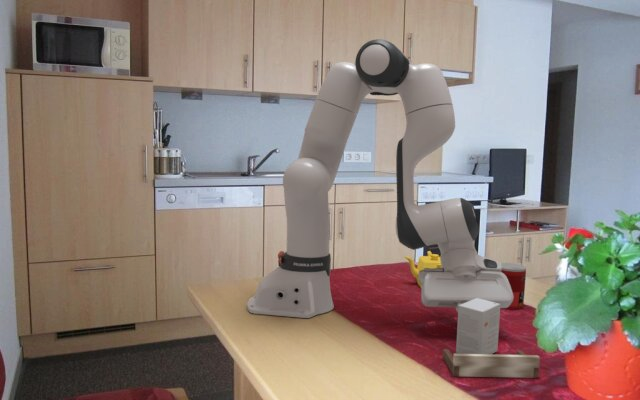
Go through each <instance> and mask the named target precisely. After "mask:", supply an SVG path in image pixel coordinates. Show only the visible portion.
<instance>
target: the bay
mask: <svg viewBox="0 0 640 400" xmlns="http://www.w3.org/2000/svg"><path fill="white" fill-rule="evenodd" d="M442 354H443V355H442V359H443V361H444V363H445V364H446V366H447V367H448V369H449V371H450V373H451V374H452V376H453V377H469V378H470V377H472V378H473V377H477V378H479V377H482V378H483V377H484V378H523V379H525V378H526V379H527V378H528V379H530V378H531V379H532V378H533V379H538V378H539V373H540V363H541V361H540V360H541V357H540V356H539V355H537V354H533V355H532V354H526V353H525V352H524V351H523V350H516V354H494V353H493V354H456V353H451V351H450V350H449V348H443V352H442Z"/></svg>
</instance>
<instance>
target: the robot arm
mask: <svg viewBox="0 0 640 400" xmlns="http://www.w3.org/2000/svg"><path fill="white" fill-rule="evenodd" d="M354 62H355V63H353V62H348V61H340V62H336V63H334V64H333V65H332V66H331V68H330V70H329V71H328V72H327V74H326V76H325V77H324V79H323V82H322V84H321V86H320V88H319V90H318V91H317V95H316V97H315V101H314V103H313V106H312V109H311V112H310V114H309V116H308V120H307V123H306V125H305V128H304V133H303V138H302V144H301V147H300V151H299V154H298V157H297V159H294V161H292V162H291V163H289V164H288V166H287V167H286V169H285V171H284V174H283V177H282V186H283V197H284V207H285V208H284V209H285V214H286V215H285V217H286V251H284V250H280V251H279V252H278V254H277V258H278V261H277V263H278V267H276V268H275V269H274V270H272V271H271V272H270V273H268V274H267V275H265V276H264V277H263V278H262V279H261V280H260V281H259V283H258V285H257V287H256V292H255V294H254V295H252V296H251V297H250V298H249V299H248V300H247V304H246V309H247V311H248V312H249V313H251V314H255V315H266V316H277V317H290V318H291V317H292V318H303V319H309V318H312V317H314V316H316V315H322V314H326V313H328V312H331V311H332V310H333V309H334V308H335V307H334V306H335V305H334V302H333V299H332V298H333V297H332V292H331V283H330V281H331V280H330V276H331V271H332V256H331V253H330V240H331V239H330V236H331V235H330V231H331V228H330V227H331V223H330V211H329V206H330V205H329V192H330V190H331V189H332V187H333V184H334V183H335V179H336V176H337V173H338V170H339V168H340V164H341V161H342V158H343V155H344V152H345V148H346V145H347V143H348V141H349V137H350V135H351V132H352V130H353V128H354V124H355V122H356V119H357V116H358V113H359V111H360V109H361V105H362V104H363V101H364V99H365V98H366V97H367V95H371V96H387V97H388V96H395V95H399V96H400V98H401V101H402V104H403V105H402V106H403V109H404V115H405V119H406V126H405V127H406V128H405V131H404V135H403V137H402V138H400V139H399V140H398V141H397V146H396V154H395V155H396V158H395V159H396V163H395V167H396V169H395V170H396V172H395V173H396V177H395V178H396V219H395V234H396V236H397V238H398V242H399V243H400V244H401V245H402V246H405V247H406V248H408V249H410V250H413V251H415V250H419V249H423V248H426V247H427V248H428V246H433V245H437V246H438V249H439V251H440V256H439V257H440V260H441V267H442V268H433V269H431V268H424V270H421V271H420V272H419V273H418V278H419V282H420V284H421V285H422V288H420V289H421V294H420V295H421V304H423V306H425V307H426V308H427V307H428V308H429V307H430V308H431V307H432V308H455V311H456V313H458V306H459V305H461V304H463V303H466V302H468V301H471V300H473V299H475V298H479V299H483V300H487V301H491V302H495V303H499V304H500V309H505V308H508V307H509V305H510V304H511V303H512V301H513V298H514V297H513V293H512V289H511V286H510V284H509V281H508V279H507V277H506V276H505V274H503V273H502V272H501V270H502V264H501V263H502V262H500V261H498V260H494V259H491V258H488V257H485V256H481V254H478V251H477V250H476V247H475V243H476V239H477V237H478V236H479V235H478V234H479V233H480V228H479V227H480V226H479V223H478V221H477V215H476V209H475V207H474V204H472V203H471V202H470V201H468V200H466V199H465V198H462V197H455V198H450V199H445V200H440V201H437V202H435V201H434V202H430V203H426V204H417V203H415V189H414V187H415V186H414V185H415V184H414V181H415V180H414V179H415V178H414V173H415V169H416V168H417V167H416V166H417V165H418V164H419V163H420V162H422V161H421V160H423V159H424V158H425V157H427V156H429V155H430V154H432V153H433V152H435V151H437V150H438V149H440V148H441V147H443V146H444V145H445V144H446V143H447V142H448V141H449V140H450V139H451V137H452V136H453V134H454V132H455V129H456V117H455V110H454V106H453V105H454V104H453V100H452V97H451V94H450V90H449V87H448V84H447V81H446V78H445V76H444V73H443V72H442V70H441V68H440V67H439V66H438V65H436V64H433V63H429V62H428V63H427V62H425V63H419V64H411V63H410V60H409V59H408V58H407V57H406V55H405V53H404V52H403V51H402V50H401V49H399V48H398V47H397V46H396V45H395V44H394V43H392V42H391V41H388V40H385V39H381V38H379V39H372V40H369V41H367V42H365V43H364V44H363V45H362V46H361V47H360V48H359V50H358V52H357V53H356V56H355V61H354ZM423 271H424V272H423Z"/></svg>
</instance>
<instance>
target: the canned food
mask: <svg viewBox="0 0 640 400" xmlns="http://www.w3.org/2000/svg"><path fill="white" fill-rule="evenodd" d="M500 263H501V264H502V270H501V272H502V273H503V274H505V276H506V277H507V279H508V281H509V284H510V286H511V289H512V293H513V297H514V298H513V301H512V303H511V304H510V305H509V307H508V308H504V309H505V310H520V309H522V308H523V307H524V303H525V302H524V301H525V291H526V278H527V277H526V276H527V268H526V266H524V265H523V264H518V263H513V262H512V263H510V262H500Z"/></svg>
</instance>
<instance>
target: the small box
mask: <svg viewBox="0 0 640 400" xmlns="http://www.w3.org/2000/svg"><path fill="white" fill-rule="evenodd" d="M500 316H501V308H500V304H499V303H495V302H491V301H487V300H483V299H479V298H475V299H473V300H471V301H468V302H466V303H463V304H461V305H459V306H458V312H457V324H456V325H457V328H456V346H455V354H494V353H496V352H498V346H499V345H498V344H499V332H500Z"/></svg>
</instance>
